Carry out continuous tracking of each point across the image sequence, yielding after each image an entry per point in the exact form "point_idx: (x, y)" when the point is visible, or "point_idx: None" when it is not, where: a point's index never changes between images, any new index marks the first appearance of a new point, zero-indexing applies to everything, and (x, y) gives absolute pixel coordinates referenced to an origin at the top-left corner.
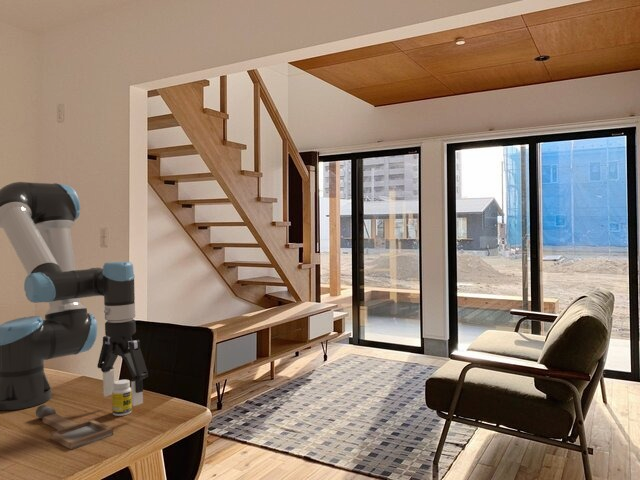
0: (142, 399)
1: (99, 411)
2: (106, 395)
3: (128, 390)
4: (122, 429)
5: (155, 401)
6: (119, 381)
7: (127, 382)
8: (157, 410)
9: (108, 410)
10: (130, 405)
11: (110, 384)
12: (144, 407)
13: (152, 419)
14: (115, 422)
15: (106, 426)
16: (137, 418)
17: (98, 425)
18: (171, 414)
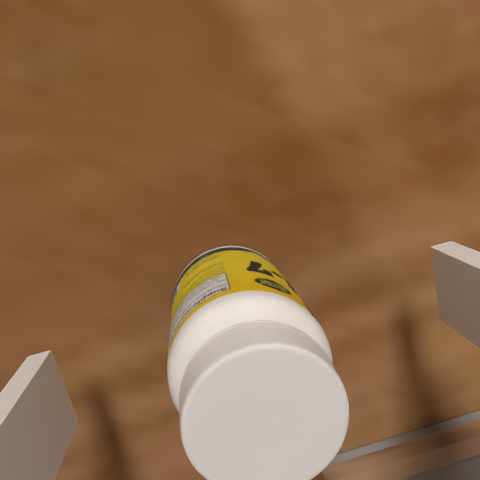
0: (471, 252)
1: (108, 401)
2: (74, 415)
3: (323, 337)
4: (467, 357)
5: (149, 36)
6: (237, 441)
7: (339, 382)
8: (340, 102)
9: (125, 354)
10: (280, 273)
11: (29, 437)
12: (224, 152)
13: (457, 186)
14: (350, 364)
15: (463, 445)
16: (380, 251)
17: (417, 473)
18: (470, 57)
